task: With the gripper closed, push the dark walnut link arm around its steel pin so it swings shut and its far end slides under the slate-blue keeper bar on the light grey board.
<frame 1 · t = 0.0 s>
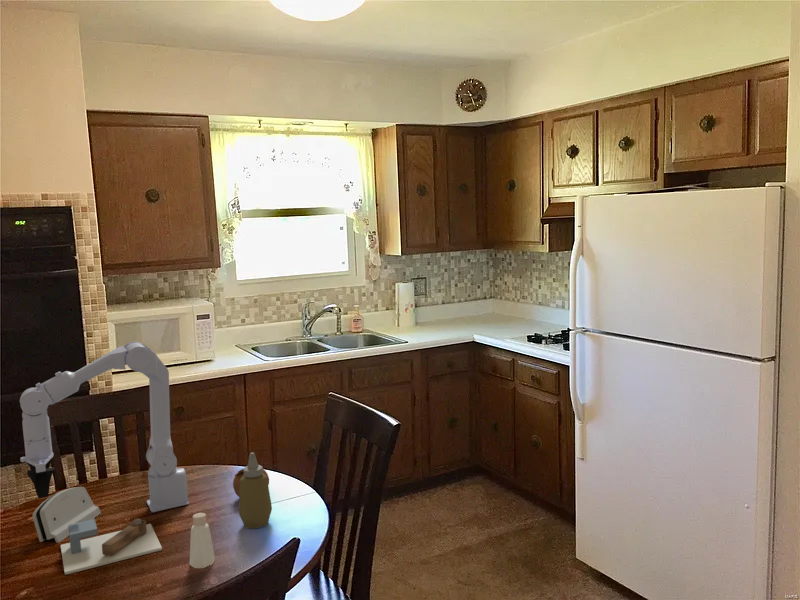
hand: (42, 491, 164), 10 cm above the table, tool pointing down, fingers open, 7 cm apart
link arm: (125, 535, 156), point 3 cm above the table, hinge at 45.0°
keeper board: (110, 548, 155), on the table
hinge: (67, 527, 167), on the table
squeeze bottle: (256, 524, 166), on the table
pepper shaker: (202, 563, 147), on the table
onion: (252, 498, 181), on the table
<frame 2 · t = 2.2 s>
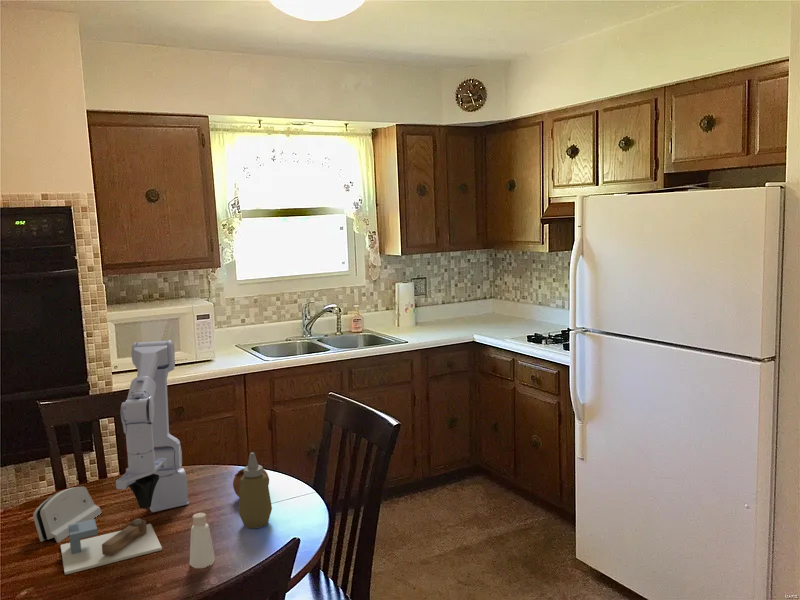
hand: (145, 507, 154), 9 cm above the table, tool pointing down, fingers closed
nothing on the table moved.
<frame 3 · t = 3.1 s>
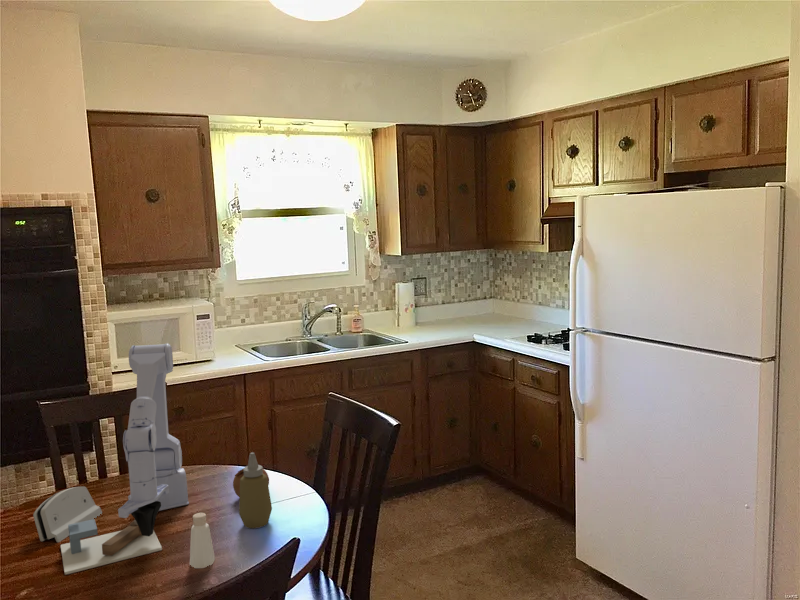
hand: (147, 534, 155), 3 cm above the table, tool pointing down, fingers closed
nothing on the table moved.
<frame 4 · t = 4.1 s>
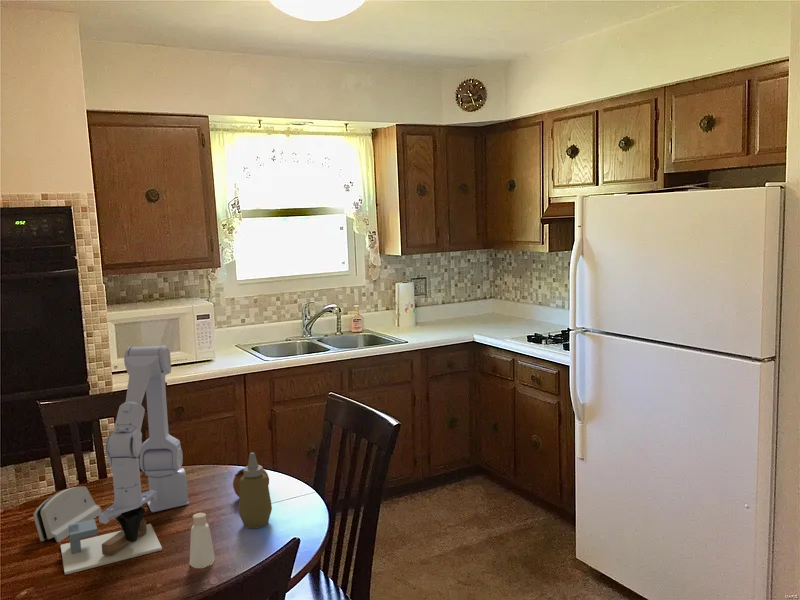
hand: (131, 540, 154), 2 cm above the table, tool pointing down, fingers closed, pressing on link arm
link arm: (125, 535, 156), point 3 cm above the table, hinge at 44.7°, touching gripper
everything else where it was.
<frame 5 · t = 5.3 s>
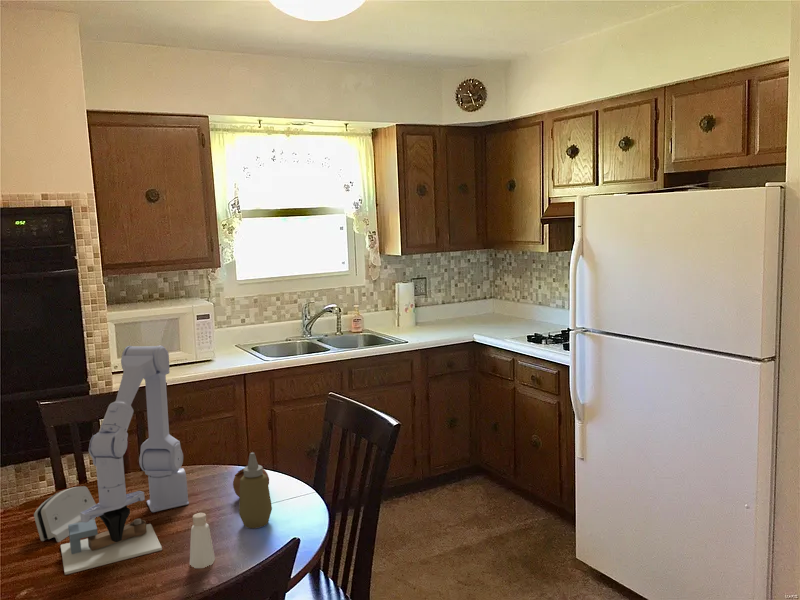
hand: (116, 540, 155), 2 cm above the table, tool pointing down, fingers closed, pressing on link arm
link arm: (118, 532, 157), point 3 cm above the table, hinge at 12.9°, touching gripper
everything else where it was.
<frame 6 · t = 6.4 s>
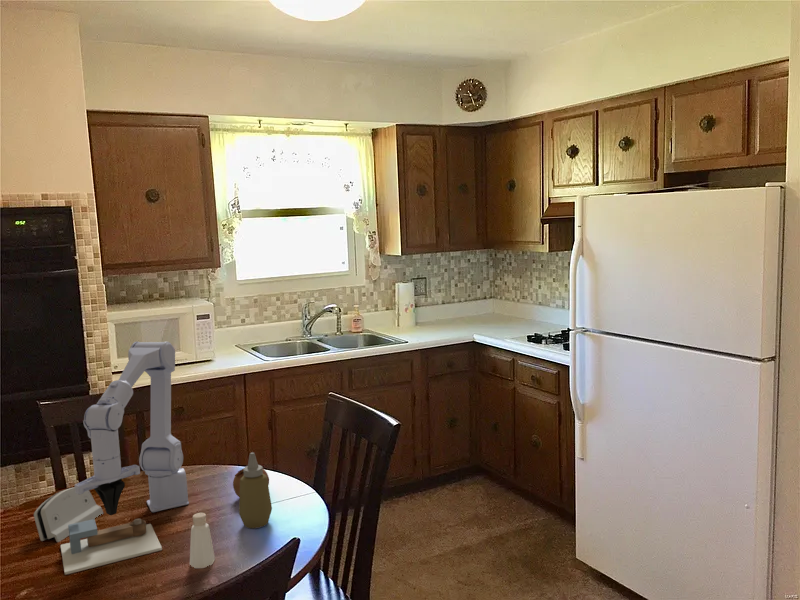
hand: (111, 513, 154), 8 cm above the table, tool pointing down, fingers closed
link arm: (117, 531, 158), point 3 cm above the table, hinge at 0.9°
everything else where it was.
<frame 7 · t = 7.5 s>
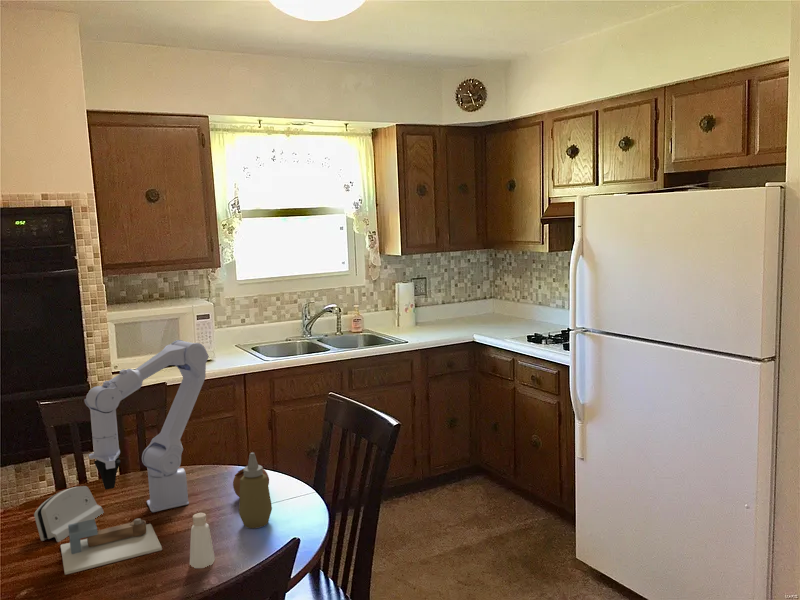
hand: (109, 487, 167), 9 cm above the table, tool pointing down, fingers closed
nothing on the table moved.
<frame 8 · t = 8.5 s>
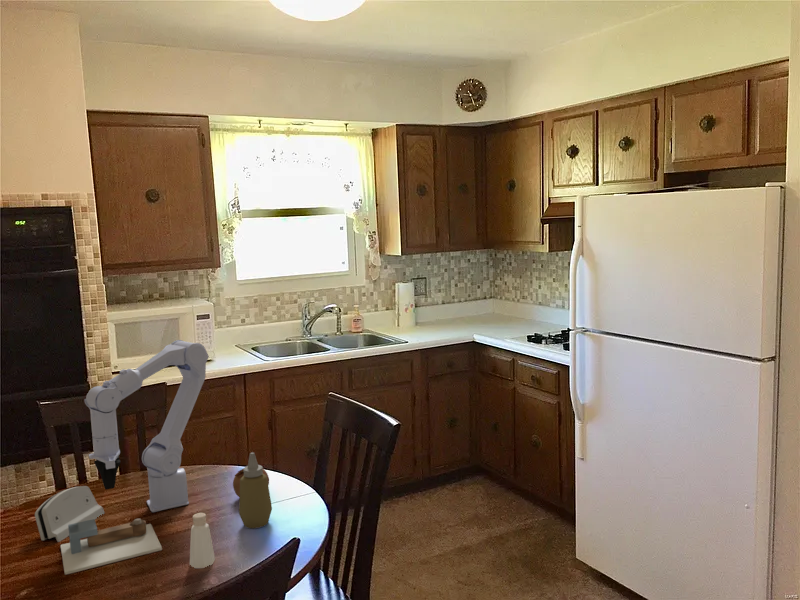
hand: (109, 487, 167), 9 cm above the table, tool pointing down, fingers closed
nothing on the table moved.
at the end: link arm at +1° (first picture: +45°); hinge moved 0.8 cm from its start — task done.
